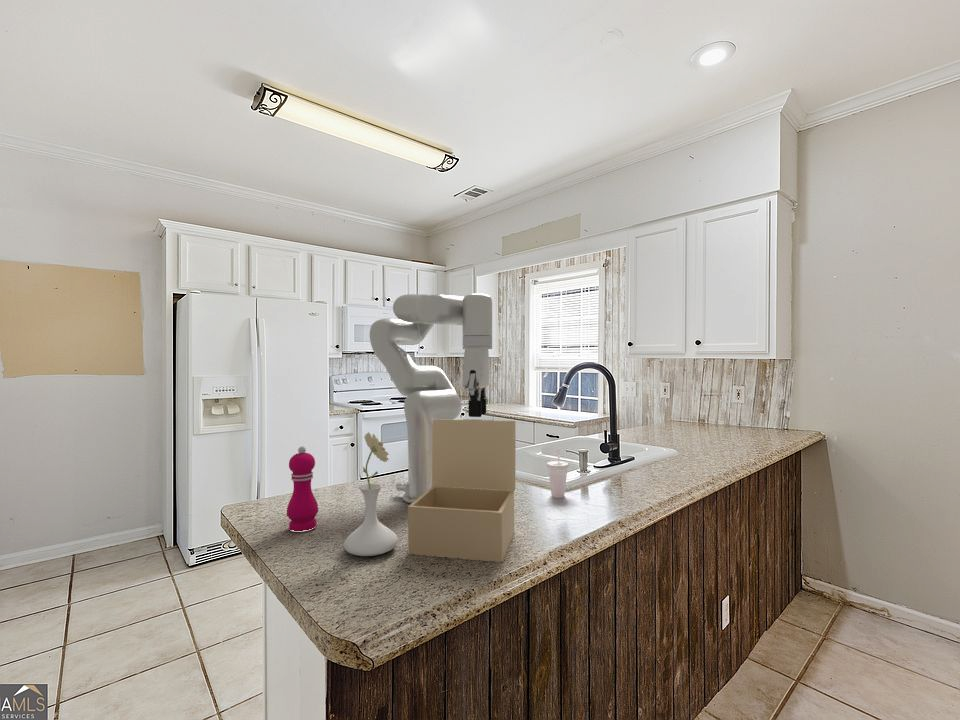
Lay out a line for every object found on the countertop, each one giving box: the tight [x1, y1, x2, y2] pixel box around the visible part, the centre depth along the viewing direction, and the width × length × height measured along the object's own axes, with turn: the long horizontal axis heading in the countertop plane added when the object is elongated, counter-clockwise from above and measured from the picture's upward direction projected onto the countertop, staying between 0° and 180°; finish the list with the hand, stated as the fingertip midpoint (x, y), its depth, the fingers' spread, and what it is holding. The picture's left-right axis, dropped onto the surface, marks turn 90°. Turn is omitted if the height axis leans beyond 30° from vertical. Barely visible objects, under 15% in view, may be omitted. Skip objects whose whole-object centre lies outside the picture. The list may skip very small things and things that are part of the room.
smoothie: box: [546, 447, 569, 499], centre depth 139 cm, size 6×6×14 cm
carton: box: [407, 486, 515, 563], centre depth 104 cm, size 20×16×10 cm
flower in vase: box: [343, 431, 399, 557], centre depth 102 cm, size 13×11×25 cm
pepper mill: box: [286, 446, 319, 531], centre depth 114 cm, size 7×7×20 cm
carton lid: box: [432, 418, 517, 492], centre depth 116 cm, size 20×16×7 cm
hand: (477, 414), depth 119 cm, fingers open, 4 cm apart
